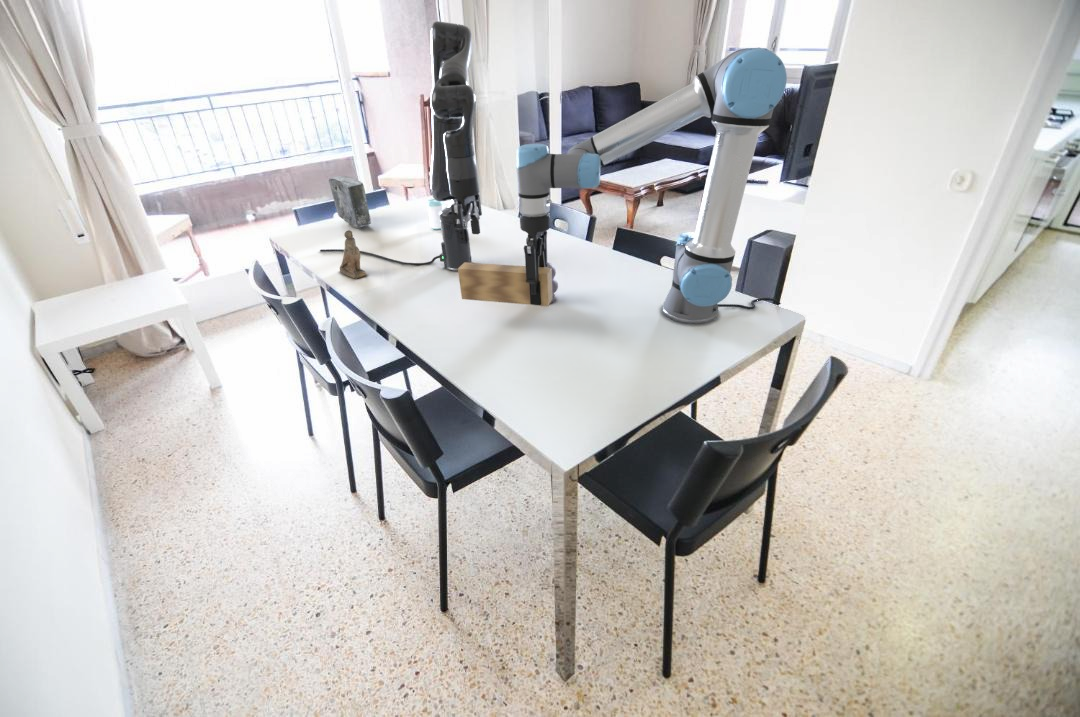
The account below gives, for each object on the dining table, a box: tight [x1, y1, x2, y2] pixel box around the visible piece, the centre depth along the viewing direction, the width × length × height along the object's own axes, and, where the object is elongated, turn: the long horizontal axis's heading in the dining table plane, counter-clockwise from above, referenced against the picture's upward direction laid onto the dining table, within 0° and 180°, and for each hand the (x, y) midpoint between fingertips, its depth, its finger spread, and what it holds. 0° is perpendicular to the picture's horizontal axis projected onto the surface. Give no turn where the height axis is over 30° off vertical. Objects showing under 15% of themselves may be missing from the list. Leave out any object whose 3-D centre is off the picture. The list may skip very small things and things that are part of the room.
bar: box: [457, 262, 553, 307], centre depth 134 cm, size 25×5×9 cm, turn 75°
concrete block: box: [328, 175, 372, 229], centre depth 226 cm, size 27×9×20 cm, turn 36°
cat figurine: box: [547, 261, 559, 304], centre depth 151 cm, size 9×8×12 cm
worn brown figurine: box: [339, 229, 367, 280], centre depth 174 cm, size 12×6×18 cm, turn 43°
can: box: [426, 198, 445, 230], centre depth 220 cm, size 7×7×12 cm
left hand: (470, 238), depth 133 cm, fingers open, 8 cm apart
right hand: (538, 299), depth 134 cm, fingers closed on bar, 5 cm apart
